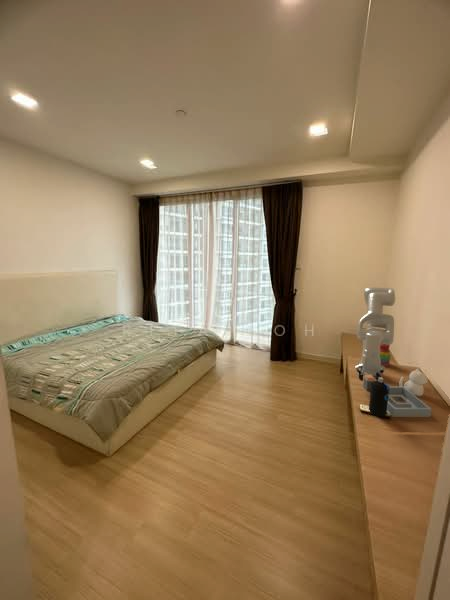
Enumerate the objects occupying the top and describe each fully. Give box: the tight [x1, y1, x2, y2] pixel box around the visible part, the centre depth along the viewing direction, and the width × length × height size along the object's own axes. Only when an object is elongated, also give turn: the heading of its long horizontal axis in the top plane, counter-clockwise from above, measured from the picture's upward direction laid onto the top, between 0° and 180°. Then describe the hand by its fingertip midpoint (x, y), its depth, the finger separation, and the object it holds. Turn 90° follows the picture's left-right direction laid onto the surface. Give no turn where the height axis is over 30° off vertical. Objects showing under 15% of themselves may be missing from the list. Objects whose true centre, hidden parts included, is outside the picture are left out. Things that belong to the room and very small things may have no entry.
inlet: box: [388, 395, 412, 408], centre depth 128 cm, size 8×8×3 cm
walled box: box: [387, 386, 432, 418], centre depth 128 cm, size 20×18×5 cm
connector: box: [363, 374, 376, 392], centre depth 143 cm, size 4×4×9 cm
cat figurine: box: [398, 368, 428, 397], centre depth 137 cm, size 9×12×15 cm
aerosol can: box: [368, 376, 391, 418], centre depth 121 cm, size 8×8×20 cm
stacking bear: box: [379, 344, 392, 368], centre depth 173 cm, size 11×10×18 cm
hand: (369, 380), depth 141 cm, fingers open, 9 cm apart
